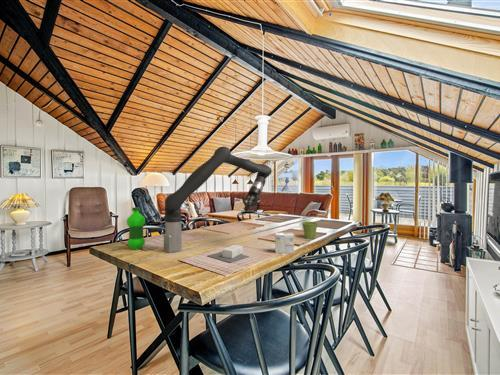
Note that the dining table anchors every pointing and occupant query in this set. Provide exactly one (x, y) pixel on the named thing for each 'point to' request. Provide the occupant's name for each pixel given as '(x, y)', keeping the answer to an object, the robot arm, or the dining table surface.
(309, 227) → the plant pot
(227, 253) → the skincare box
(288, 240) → the light bulb box
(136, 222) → the plastic bottle
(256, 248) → the dining table surface
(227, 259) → the mat
